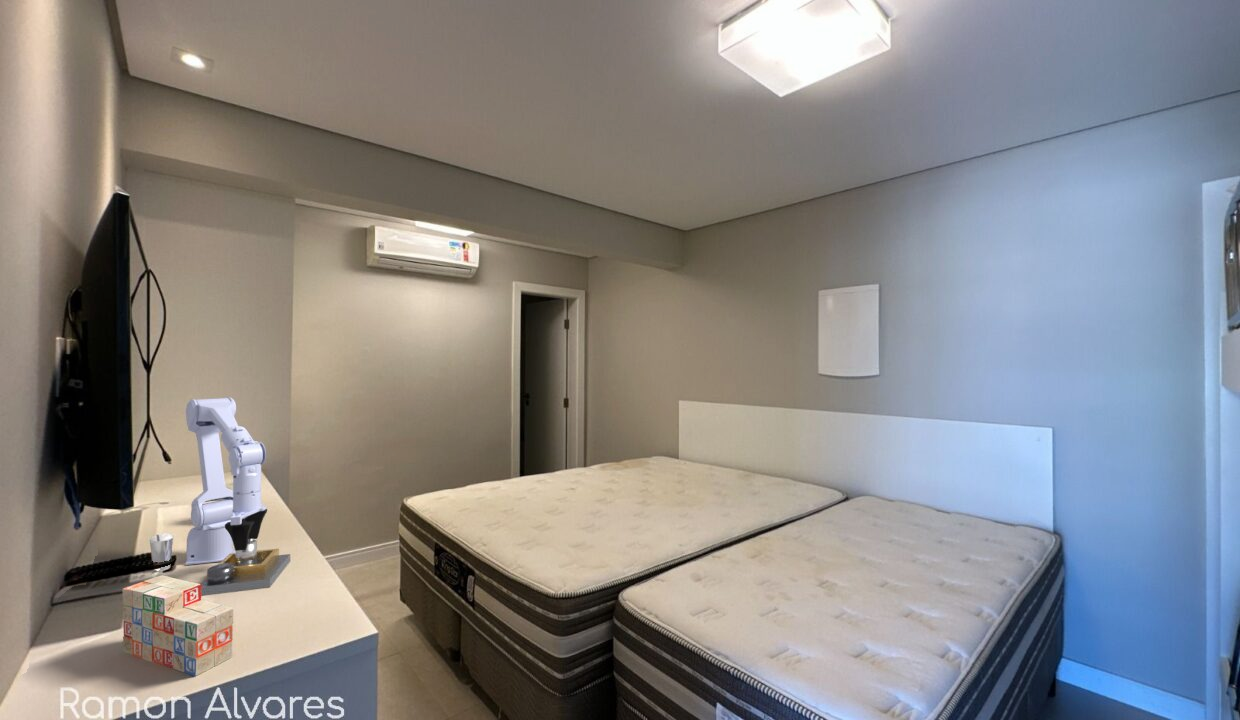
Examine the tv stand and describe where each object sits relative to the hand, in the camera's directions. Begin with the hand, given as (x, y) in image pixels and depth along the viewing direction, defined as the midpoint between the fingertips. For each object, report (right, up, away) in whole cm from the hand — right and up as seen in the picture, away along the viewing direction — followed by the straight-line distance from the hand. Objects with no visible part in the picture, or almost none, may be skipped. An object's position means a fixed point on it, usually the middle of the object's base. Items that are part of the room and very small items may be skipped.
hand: (246, 544), depth 127 cm
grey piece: (+2, -8, -2) cm, 8 cm away
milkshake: (-24, -8, +2) cm, 25 cm away
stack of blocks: (+13, -8, -34) cm, 37 cm away
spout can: (0, -6, 0) cm, 6 cm away
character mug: (-34, -8, +39) cm, 52 cm away
